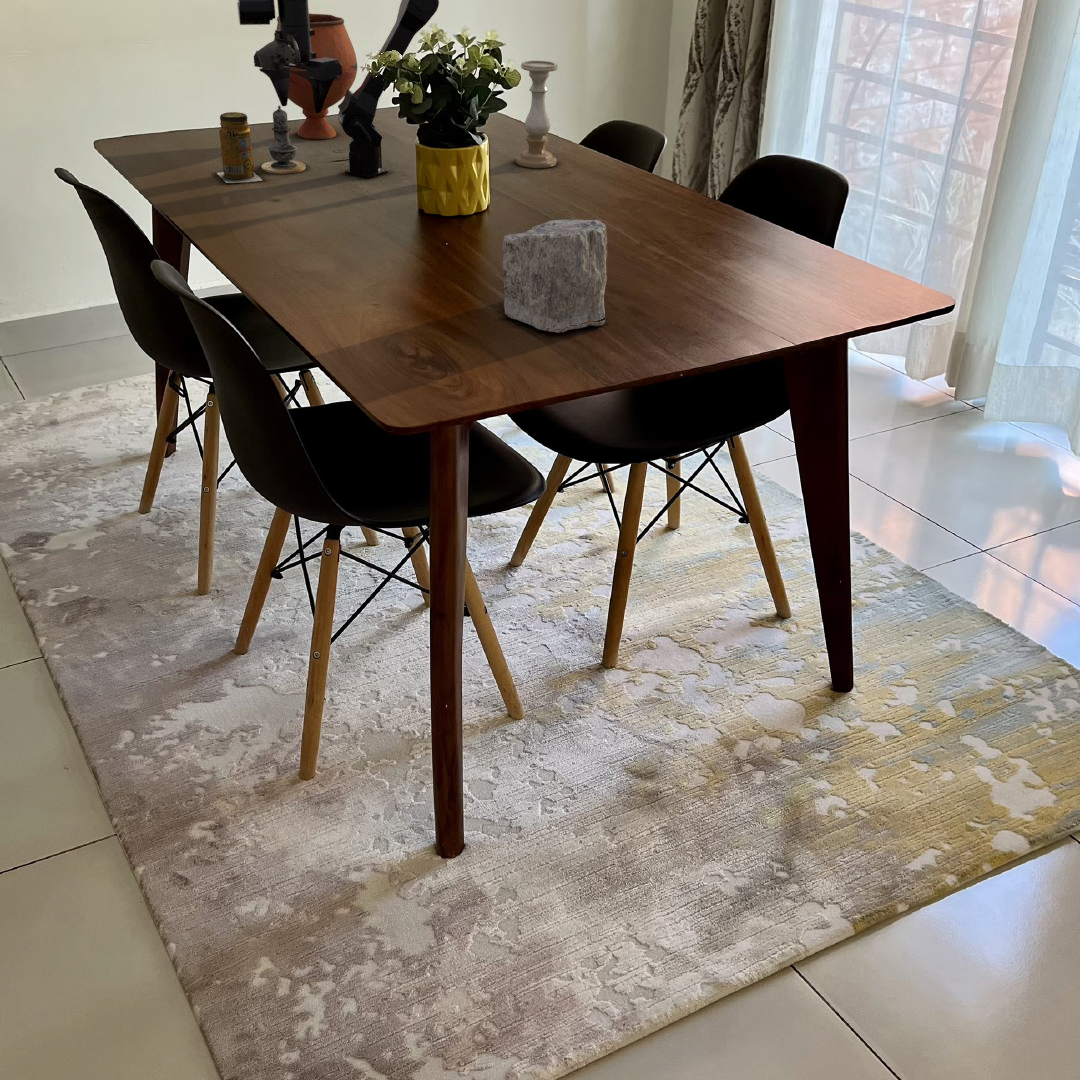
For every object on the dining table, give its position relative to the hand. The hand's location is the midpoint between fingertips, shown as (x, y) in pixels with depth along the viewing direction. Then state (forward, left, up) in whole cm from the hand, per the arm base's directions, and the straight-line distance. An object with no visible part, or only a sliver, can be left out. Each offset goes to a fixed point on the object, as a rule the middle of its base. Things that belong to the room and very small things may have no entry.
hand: (300, 109), depth 234 cm
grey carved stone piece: (-1, -7, -13) cm, 15 cm away
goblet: (-27, -22, -13) cm, 37 cm away
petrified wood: (+33, +82, -13) cm, 89 cm away
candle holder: (-39, +30, -13) cm, 51 cm away
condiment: (+10, -9, -13) cm, 19 cm away
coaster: (-1, -7, -13) cm, 15 cm away
